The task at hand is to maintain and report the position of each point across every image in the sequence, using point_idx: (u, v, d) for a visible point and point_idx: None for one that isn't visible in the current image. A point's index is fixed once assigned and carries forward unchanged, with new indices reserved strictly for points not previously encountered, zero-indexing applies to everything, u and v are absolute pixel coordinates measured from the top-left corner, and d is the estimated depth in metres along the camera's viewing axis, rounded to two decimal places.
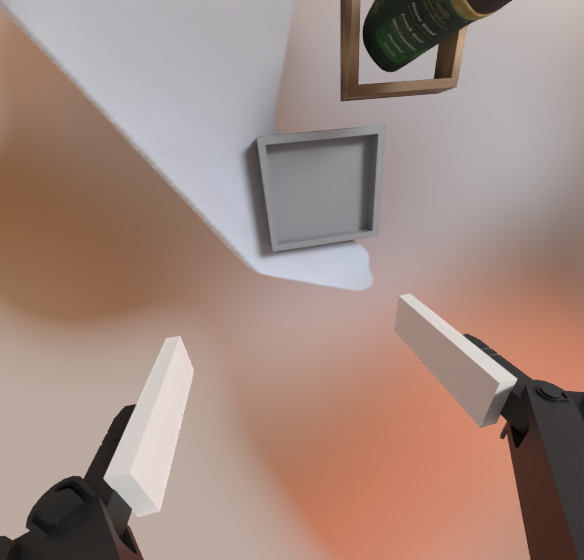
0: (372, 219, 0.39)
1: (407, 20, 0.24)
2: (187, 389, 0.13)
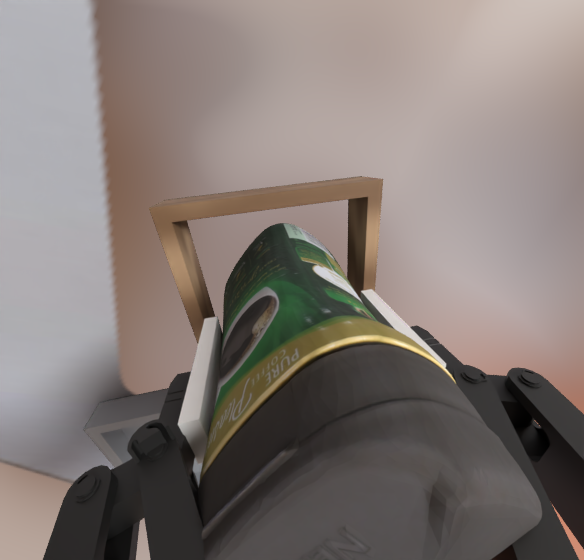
0: None
1: None
2: None
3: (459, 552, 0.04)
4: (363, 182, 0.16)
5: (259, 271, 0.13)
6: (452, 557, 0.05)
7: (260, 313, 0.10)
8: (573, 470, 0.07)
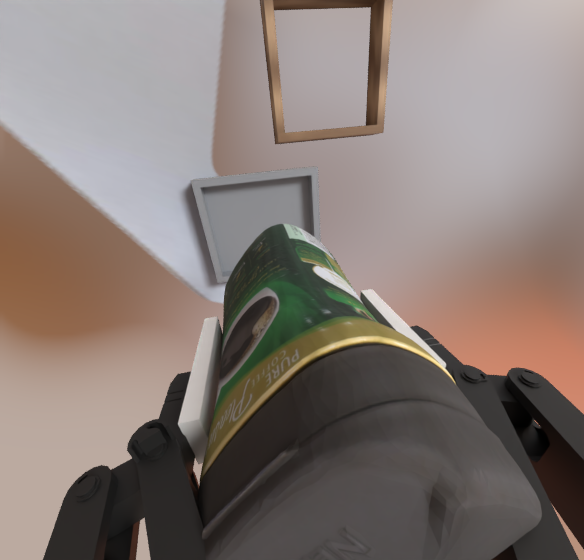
0: None
1: None
2: None
3: (459, 553, 0.05)
4: None
5: (259, 271, 0.13)
6: (452, 558, 0.05)
7: (260, 314, 0.10)
8: (573, 470, 0.07)
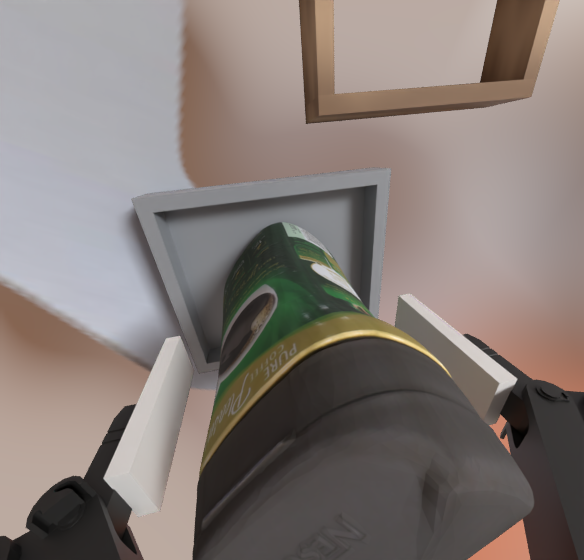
0: None
1: None
2: (187, 389, 0.13)
3: (452, 538, 0.05)
4: None
5: (258, 269, 0.14)
6: (445, 543, 0.05)
7: (259, 310, 0.10)
8: None
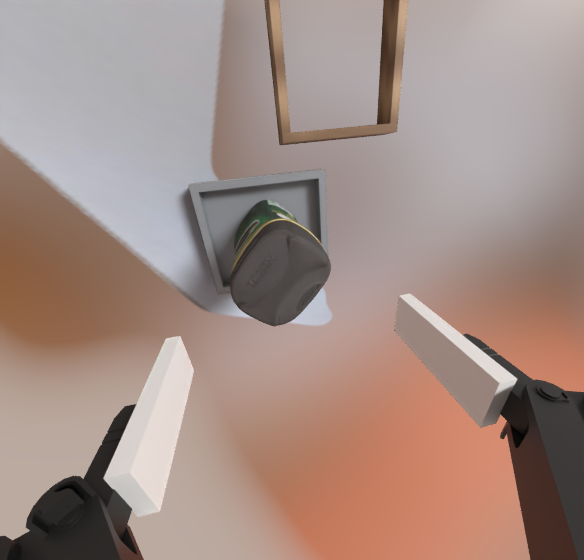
0: None
1: None
2: (187, 389, 0.13)
3: (296, 257, 0.19)
4: None
5: (252, 217, 0.28)
6: (294, 258, 0.19)
7: (252, 227, 0.25)
8: None
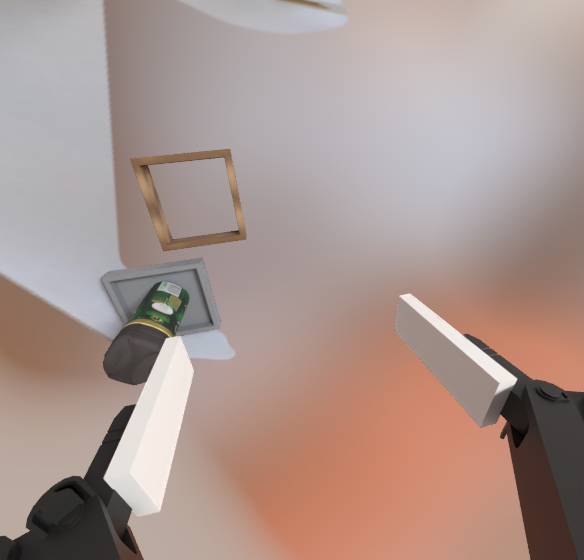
0: (212, 318, 0.52)
1: None
2: (187, 389, 0.13)
3: (135, 350, 0.33)
4: (220, 150, 0.38)
5: (140, 304, 0.42)
6: (134, 351, 0.33)
7: (130, 317, 0.39)
8: None
